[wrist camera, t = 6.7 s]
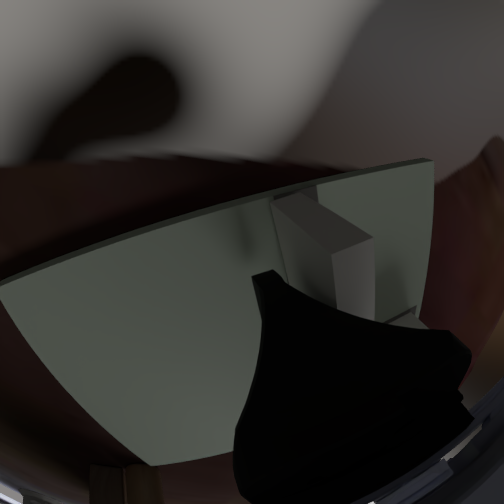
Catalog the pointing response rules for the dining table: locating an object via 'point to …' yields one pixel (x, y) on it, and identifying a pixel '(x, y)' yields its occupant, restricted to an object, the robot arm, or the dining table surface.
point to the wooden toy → (125, 485)
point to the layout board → (201, 306)
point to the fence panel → (326, 255)
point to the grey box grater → (36, 498)
